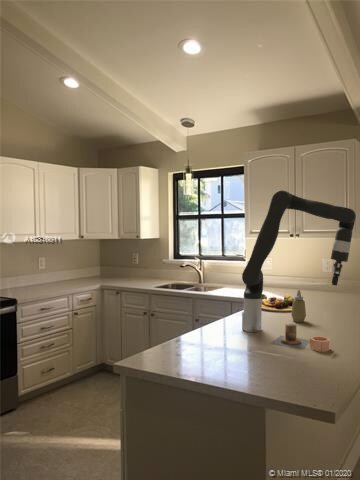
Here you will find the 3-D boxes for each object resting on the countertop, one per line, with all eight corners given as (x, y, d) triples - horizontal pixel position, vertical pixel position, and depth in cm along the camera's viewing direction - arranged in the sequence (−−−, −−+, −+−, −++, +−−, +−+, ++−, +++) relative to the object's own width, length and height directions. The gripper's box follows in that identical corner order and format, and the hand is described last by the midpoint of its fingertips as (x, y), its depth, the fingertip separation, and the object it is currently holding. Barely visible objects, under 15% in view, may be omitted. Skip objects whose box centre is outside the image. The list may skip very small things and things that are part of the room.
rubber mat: (269, 345, 186) (269, 343, 186) (280, 336, 200) (280, 335, 200) (302, 350, 178) (302, 349, 178) (311, 341, 192) (311, 340, 192)
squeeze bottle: (305, 320, 234) (306, 289, 233) (306, 323, 226) (306, 291, 225) (291, 319, 236) (291, 288, 235) (291, 322, 228) (291, 290, 227)
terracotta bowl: (308, 350, 178) (308, 339, 177) (313, 346, 184) (313, 335, 184) (327, 353, 173) (327, 342, 173) (331, 349, 180) (331, 337, 180)
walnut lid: (278, 342, 188) (278, 325, 187) (284, 338, 195) (284, 321, 195) (297, 346, 183) (297, 328, 182) (303, 341, 190) (303, 324, 190)
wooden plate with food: (243, 305, 277) (244, 293, 277) (281, 301, 291) (281, 289, 290) (273, 315, 248) (273, 302, 248) (312, 310, 262) (313, 298, 261)
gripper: (332, 249, 198) (325, 281, 198) (332, 249, 184) (326, 283, 185) (348, 252, 195) (341, 284, 196) (350, 252, 182) (343, 287, 182)
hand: (334, 284), depth 190 cm, fingers open, 8 cm apart
